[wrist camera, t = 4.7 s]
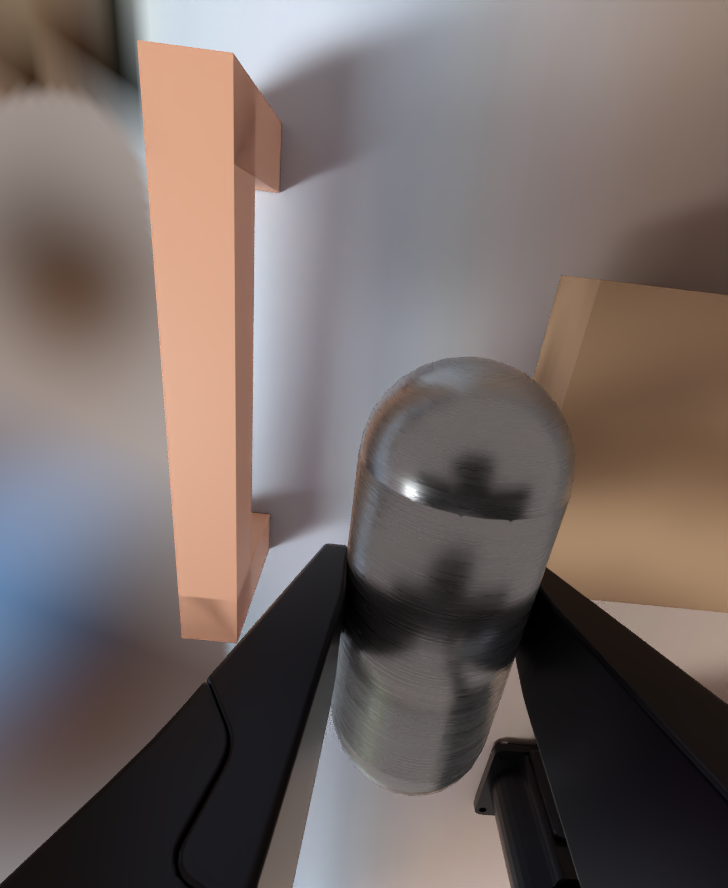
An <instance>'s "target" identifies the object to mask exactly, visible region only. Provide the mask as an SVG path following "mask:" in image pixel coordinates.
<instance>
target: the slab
mask: <svg viewBox="0 0 728 888" xmlns="http://www.w3.org/2000/svg"><path fill="white" fill-rule="evenodd" d="M533 380H534V381H535V382H537V383H538V384H539V385H541V386H542V387H543V388H544V389H545V391H546V392H547V393H548V394H549V395H550V396H551V398H552V399H553V400H554V401H555V402H556V404H557V405H558V406H559V408H560V410H561V412H562V414H563V416H564V418H565V420H566V422H567V424H568V427H569V429H570V433H571V437H572V441H573V445H574V449H575V475H574V480H573V485H572V489H571V496H570V499H569V502H568V505H567V508H566V511H565V514H564V517H563V520H562V523H561V525H560V528H559V531H558V534H557V537H556V540H555V543H554V546H553V549H552V551H551V554H550V557H549V560H548V563H547V566H546V567H547V568H548V569H550V570H551V571H552V572H554V573H555V574H556V575H558V576H559V577H560V578H562V579H563V580H564V581H565V582H567V583H568V584H569V585H571V586H572V587H573V588H575V589H576V590H577V591H579V592H580V593H581V594H583V595H584V596H585V597H587V598H588V599H591V600H601V601H612V602H622V603H632V604H643V605H653V606H663V607H674V608H684V609H694V610H705V611H715V612H725V613H728V295H722V294H714V293H706V292H698V291H689V290H681V289H673V288H664V287H656V286H648V285H639V284H631V283H623V282H615V281H606V280H598V279H590V278H581V277H573V276H565V275H561V278H560V282H559V285H558V289H557V293H556V296H555V300H554V304H553V307H552V311H551V315H550V319H549V322H548V326H547V330H546V333H545V337H544V341H543V344H542V348H541V352H540V355H539V359H538V363H537V367H536V370H535V374H534V378H533Z"/></svg>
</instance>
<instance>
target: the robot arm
mask: <svg viewBox="0 0 728 888" xmlns="http://www.w3.org/2000/svg"><path fill="white" fill-rule="evenodd" d="M347 549H348V547H347V546H346V545H338V544H325V545H324V546H323V547H322V548H321V549H320V550H319V551H318V553H317V554H316V555H315V556H314V557H313V558H312V559H311V561H310V562H309V563H308V564H307V565H306V566H305V567H304V569H303V570H302V571H301V572H300V573H299V574H298V575H297V577H296V578H295V579H294V580H293V581H292V582H291V583H290V585H289V586H288V587H287V588H286V589H285V590H284V591H283V593H282V594H281V595H280V596H279V597H278V598H277V599H276V601H275V602H274V603H273V604H272V605H271V606H270V607H269V609H268V610H267V611H266V612H265V613H264V614H263V615H262V617H261V618H260V619H259V620H258V621H257V622H256V623H255V625H254V626H253V627H252V628H251V629H250V630H249V631H248V633H247V634H246V635H245V636H244V637H243V638H242V639H241V641H240V642H239V643H238V644H237V645H236V646H235V647H234V649H233V650H232V651H231V652H230V653H229V654H228V655H227V657H226V658H225V659H224V660H223V661H222V662H221V663H220V665H219V666H218V667H217V668H216V669H215V670H214V671H213V673H212V674H211V675H210V676H209V677H208V679H207V682H204V683H203V684H202V685H201V686H200V687H199V688H198V689H197V690H196V692H195V693H194V694H193V695H192V696H191V698H190V699H189V700H188V701H187V702H186V703H185V704H184V705H183V707H182V708H181V709H180V710H179V711H178V712H177V713H176V714H175V715H174V716H173V717H172V718H171V720H170V721H169V722H168V723H167V724H166V725H165V726H164V727H163V728H162V729H161V730H160V731H159V732H158V734H157V735H156V736H155V737H154V738H153V739H152V740H151V741H150V742H149V743H148V744H147V745H146V746H145V747H144V748H143V749H142V750H141V751H140V752H139V753H138V754H137V755H136V756H135V757H134V758H133V759H132V760H131V761H130V762H129V763H128V764H127V765H126V766H125V767H124V768H123V769H121V770H120V771H119V772H118V773H117V775H115V776H114V777H113V778H112V779H111V780H110V781H109V782H108V783H107V784H106V785H105V786H104V787H103V788H102V789H101V790H100V791H99V792H98V793H97V794H95V795H94V796H93V797H92V798H91V799H90V800H89V801H88V802H87V803H86V804H85V805H84V806H83V807H82V808H81V809H80V810H78V811H77V812H76V813H75V814H74V815H73V816H72V817H71V818H70V819H69V820H68V821H67V822H66V823H65V824H64V825H63V826H61V827H60V828H59V829H58V830H57V831H56V832H55V833H54V834H53V835H52V836H51V837H50V838H49V839H48V840H47V841H46V842H45V843H43V844H42V845H41V846H40V847H39V848H38V849H37V850H36V851H35V852H34V853H33V854H32V855H31V856H30V857H29V858H27V860H25V861H24V862H23V863H22V864H21V865H20V866H19V867H18V868H17V869H16V870H15V871H14V872H13V873H12V874H11V875H9V876H8V877H7V878H6V879H5V880H4V881H3V882H2V883H1V884H0V888H292V887H293V882H294V877H295V873H296V868H297V863H298V858H299V853H300V849H301V844H302V839H303V834H304V830H305V825H306V820H307V815H308V811H309V806H310V801H311V796H312V791H313V787H314V782H315V777H316V772H317V768H318V763H319V758H320V753H321V748H322V744H323V739H324V734H325V729H326V725H327V720H328V715H329V710H330V706H331V701H332V696H333V691H334V685H335V679H336V671H337V662H338V654H339V646H340V637H341V629H342V621H343V612H344V604H345V596H346V587H347V571H348V563H347ZM515 658H516V663H517V669H518V674H519V679H520V684H521V689H522V693H523V697H524V701H525V705H526V708H527V712H528V715H529V718H530V722H531V725H532V728H533V732H534V735H535V738H536V741H537V745H538V746H526V745H514V744H497V745H495V746H494V747H493V749H492V752H491V755H490V758H489V760H488V763H487V766H486V769H485V772H484V775H483V777H482V780H481V783H480V786H479V789H478V791H477V794H476V797H475V800H474V808H475V812H476V813H478V814H482V815H495V818H496V823H497V827H498V832H499V836H500V841H501V845H502V850H503V854H504V859H505V863H506V868H507V873H508V877H509V882H510V886H511V888H728V704H726V703H725V702H724V701H722V700H721V699H720V698H719V697H717V696H716V695H715V694H713V693H712V692H711V691H709V690H708V689H707V688H705V687H704V686H703V685H701V684H700V683H699V682H697V681H696V680H695V679H693V678H692V677H691V676H689V675H688V674H687V673H686V672H684V671H683V670H682V669H680V668H679V667H678V666H676V665H675V664H674V663H672V662H671V661H670V660H668V659H667V658H666V657H664V656H663V655H662V654H660V653H659V652H658V651H657V650H655V649H654V648H653V647H651V646H650V645H649V644H647V643H646V642H645V641H643V640H642V639H641V638H639V637H638V636H637V635H635V634H634V633H633V632H631V631H630V630H629V629H627V628H626V627H625V626H624V625H622V624H621V623H620V622H618V621H617V620H616V619H614V618H613V617H612V616H610V615H609V614H608V613H606V612H605V611H604V610H602V609H601V608H600V607H598V606H597V605H596V604H595V603H593V602H592V601H591V600H589V599H588V598H587V597H585V596H584V595H583V594H581V593H580V592H579V591H577V590H576V589H575V588H573V587H572V586H571V585H569V584H568V583H567V582H565V581H564V580H563V579H562V578H560V577H559V576H558V575H556V574H555V573H554V572H552V571H551V570H550V569H548V568H547V567H546V569H545V572H544V575H543V577H542V580H541V583H540V586H539V589H538V592H537V595H536V598H535V601H534V603H533V606H532V609H531V612H530V615H529V618H528V621H527V624H526V627H525V629H524V632H523V635H522V638H521V641H520V644H519V647H518V650H517V653H516V655H515Z"/></svg>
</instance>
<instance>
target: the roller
mask: <svg viewBox="0 0 728 888" xmlns="http://www.w3.org/2000/svg"><path fill="white" fill-rule="evenodd" d="M574 475H575V449H574V445H573V441H572V437H571V433H570V429H569V427H568V424H567V422H566V420H565V418H564V416H563V414H562V412H561V410H560V408H559V406H558V405H557V404H556V402H555V401H554V400H553V399H552V398H551V396H550V395H549V394H548V393H547V392H546V391H545V389H544V388H543V387H542V386H541V385H539V384H538V383H537V382H535V381H534V380H533V379H531V378H530V377H529V376H527V375H526V374H525V373H523V372H522V371H520V370H517V369H515V368H513V367H510V366H508V365H506V364H503V363H501V362H498V361H495V360H491V359H486V358H479V357H459V358H447V359H442V360H439V361H436V362H432V363H429V364H426V365H423V366H421V367H419V368H417V369H416V370H414V371H412V372H410V373H408V374H407V375H405V376H403V377H402V378H401V379H400V380H399V381H398V382H396V383H395V384H394V385H393V386H392V387H391V388H390V389H388V390H387V391H386V392H385V394H384V395H383V396H382V398H381V399H380V400H379V402H378V403H377V404H376V406H375V407H374V408H373V410H372V412H371V415H370V417H369V419H368V421H367V423H366V425H365V429H364V432H363V436H362V440H361V445H360V449H359V456H358V465H357V473H356V481H355V490H354V498H353V507H352V515H351V524H350V532H349V541H348V549H347V563H348V571H347V587H346V596H345V604H344V612H343V621H342V629H341V637H340V646H339V654H338V662H337V671H336V679H335V685H334V691H333V696H332V701H331V710H332V718H333V723H334V727H335V731H336V733H337V736H338V739H339V741H340V743H341V745H342V748H343V750H344V752H345V753H346V755H347V756H348V758H349V759H350V761H351V762H352V764H353V765H354V766H355V767H356V768H357V769H358V770H359V771H360V772H361V773H362V774H363V775H364V776H365V777H366V778H368V779H369V780H370V781H372V782H373V783H375V784H376V785H378V786H379V787H381V788H384V789H386V790H388V791H391V792H393V793H398V794H403V795H408V796H416V795H429V794H433V793H436V792H440V791H442V790H444V789H446V788H448V787H449V786H451V785H453V784H454V783H456V782H457V781H458V780H460V779H461V778H462V777H463V776H464V775H465V774H466V773H467V772H468V771H469V770H470V769H471V768H472V766H473V765H474V763H475V761H476V759H477V758H478V756H479V754H480V753H481V751H482V749H483V747H484V744H485V742H486V739H487V736H488V734H489V731H490V728H491V725H492V722H493V719H494V716H495V713H496V710H497V707H498V705H499V702H500V699H501V696H502V693H503V690H504V687H505V684H506V681H507V679H508V676H509V673H510V670H511V667H512V664H513V661H514V658H515V655H516V653H517V650H518V647H519V644H520V641H521V638H522V635H523V632H524V629H525V627H526V624H527V621H528V618H529V615H530V612H531V609H532V606H533V603H534V601H535V598H536V595H537V592H538V589H539V586H540V583H541V580H542V577H543V575H544V572H545V569H546V566H547V563H548V560H549V557H550V554H551V551H552V549H553V546H554V543H555V540H556V537H557V534H558V531H559V528H560V525H561V523H562V520H563V517H564V514H565V511H566V508H567V505H568V502H569V499H570V496H571V489H572V485H573V480H574Z"/></svg>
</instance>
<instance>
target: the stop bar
mask: <svg viewBox="0 0 728 888" xmlns="http://www.w3.org/2000/svg"><path fill="white" fill-rule="evenodd" d="M137 44H138V58H139V71H140V85H141V98H142V111H143V125H144V138H145V152H146V165H147V179H148V192H149V205H150V219H151V232H152V246H153V259H154V272H155V286H156V300H157V313H158V326H159V340H160V353H161V367H162V379H163V393H164V405H165V420H166V434H167V447H168V460H169V474H170V487H171V501H172V514H173V526H174V541H175V553H176V554H175V555H176V568H177V581H178V594H179V608H180V621H181V635H182V638H186V639H196V640H208V641H218V642H229V643H237V642H238V639H239V636H240V633H241V630H242V627H243V624H244V621H245V619H246V616H247V613H248V610H249V607H250V604H251V601H252V598H253V595H254V592H255V589H256V586H257V583H258V580H259V577H260V574H261V572H262V569H263V566H264V563H265V560H266V557H267V554H268V551H269V530H270V514H262V513H252V423H253V321H254V219H255V190H259V191H267V192H275V193H279V190H280V156H281V122H280V120H279V119H278V117H277V116H276V114H275V113H274V111H273V110H272V109H271V107H270V106H269V104H268V103H267V101H266V100H265V98H264V97H263V96H262V94H261V93H260V91H259V90H258V88H257V87H256V85H255V84H254V82H253V81H252V80H251V78H250V77H249V75H248V74H247V72H246V71H245V69H244V68H243V66H242V65H241V64H240V62H239V61H238V59H237V58H236V56H235V55H234V53H230V52H222V51H215V50H207V49H200V48H192V47H185V46H177V45H170V44H162V43H155V42H147V41H140V40H137Z"/></svg>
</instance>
